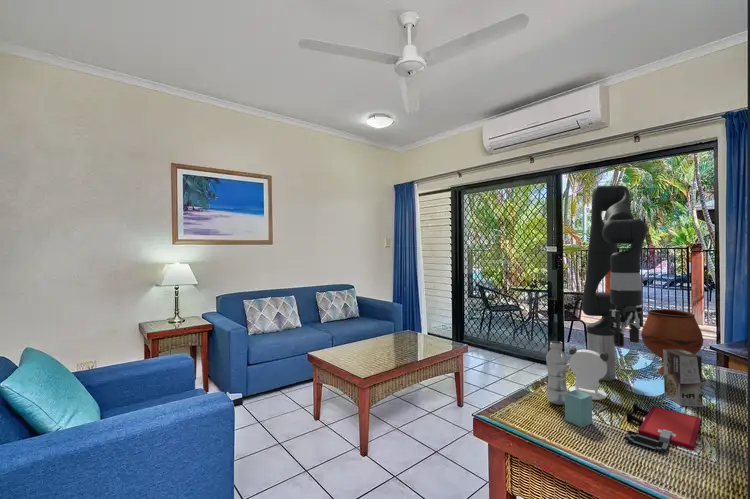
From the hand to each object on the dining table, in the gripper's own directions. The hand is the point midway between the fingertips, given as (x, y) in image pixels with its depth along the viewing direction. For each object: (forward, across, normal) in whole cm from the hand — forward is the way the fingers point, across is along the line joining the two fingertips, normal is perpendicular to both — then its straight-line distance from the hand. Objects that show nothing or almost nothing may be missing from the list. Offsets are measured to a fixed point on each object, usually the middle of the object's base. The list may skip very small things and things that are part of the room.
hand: (626, 344), depth 102 cm
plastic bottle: (+23, +4, -19) cm, 30 cm away
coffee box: (+23, -32, +1) cm, 39 cm away
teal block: (+23, +11, -8) cm, 27 cm away
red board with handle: (+24, -4, +6) cm, 25 cm away
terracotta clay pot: (+22, -59, -12) cm, 65 cm away
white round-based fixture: (+23, -13, -18) cm, 32 cm away
